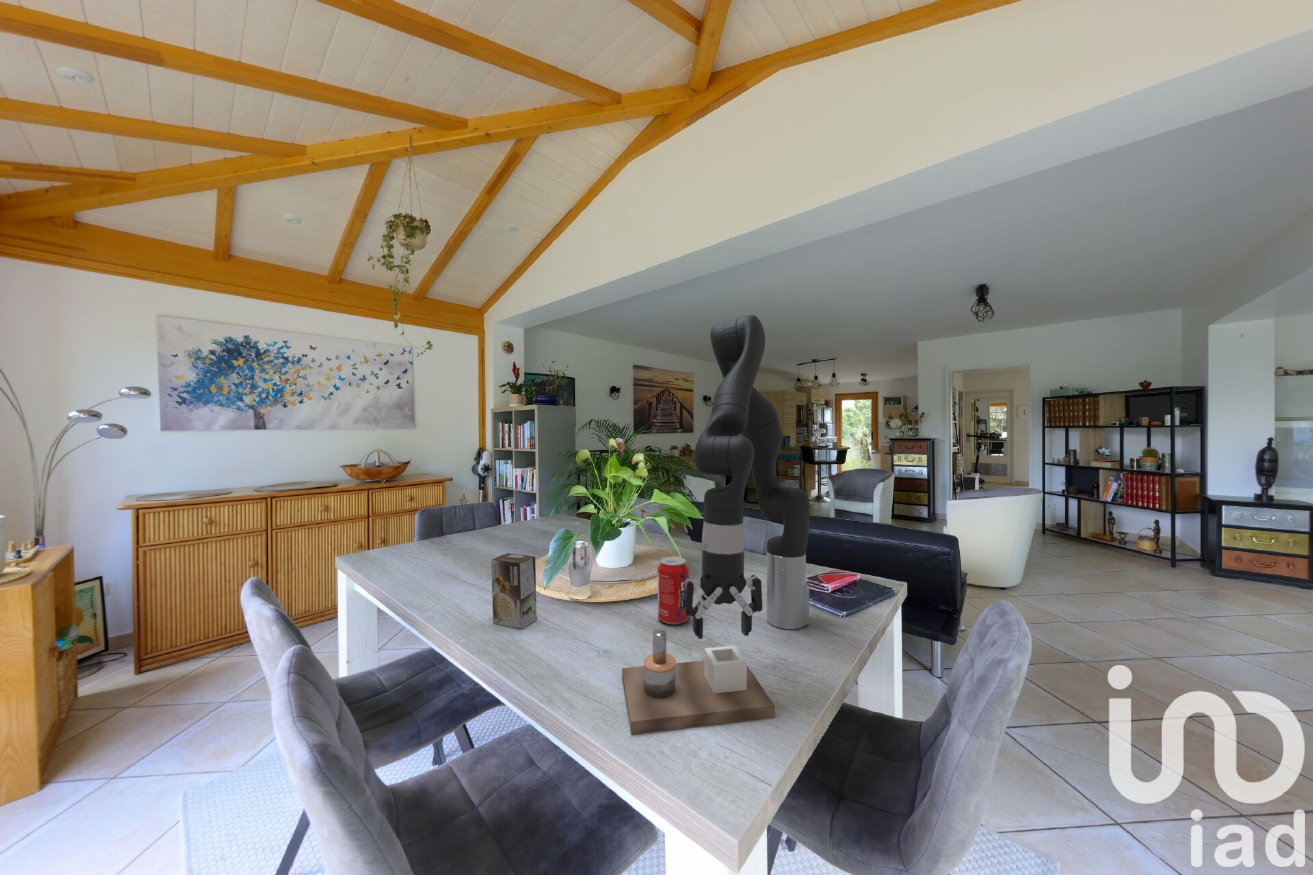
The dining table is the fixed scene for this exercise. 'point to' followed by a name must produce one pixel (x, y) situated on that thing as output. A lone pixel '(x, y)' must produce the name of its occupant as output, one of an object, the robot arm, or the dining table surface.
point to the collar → (725, 669)
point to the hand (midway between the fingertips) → (722, 635)
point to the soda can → (672, 589)
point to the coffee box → (514, 590)
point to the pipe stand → (685, 695)
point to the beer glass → (580, 564)
